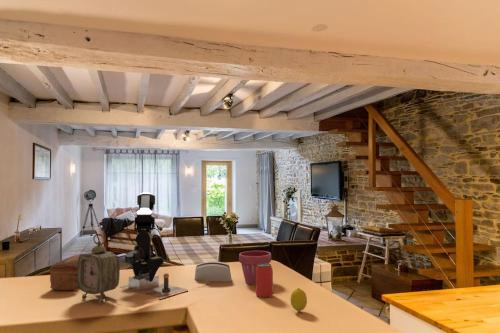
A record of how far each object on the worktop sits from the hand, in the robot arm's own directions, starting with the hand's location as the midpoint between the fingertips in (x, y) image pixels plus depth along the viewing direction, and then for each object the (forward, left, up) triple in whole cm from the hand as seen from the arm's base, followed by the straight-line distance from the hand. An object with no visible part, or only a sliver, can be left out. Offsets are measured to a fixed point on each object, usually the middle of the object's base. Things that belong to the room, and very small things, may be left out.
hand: (143, 280), depth 158 cm
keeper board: (+6, 0, -3) cm, 7 cm away
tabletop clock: (-1, -20, -4) cm, 20 cm away
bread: (-31, -11, -4) cm, 33 cm away
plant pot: (+33, +35, -4) cm, 48 cm away
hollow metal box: (0, 0, -2) cm, 2 cm away
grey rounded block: (+16, +26, -4) cm, 31 cm away
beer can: (+48, +20, -4) cm, 52 cm away
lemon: (+68, +11, -4) cm, 69 cm away
